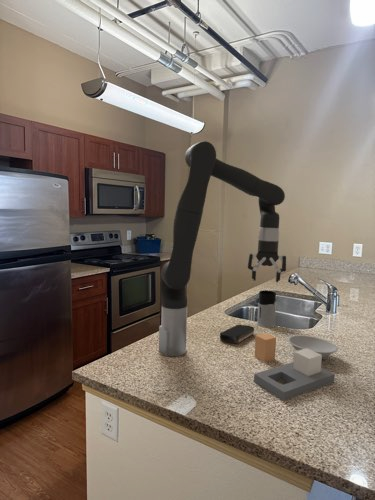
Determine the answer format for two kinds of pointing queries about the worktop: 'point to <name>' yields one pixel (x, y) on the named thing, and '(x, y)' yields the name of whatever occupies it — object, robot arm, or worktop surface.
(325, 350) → the dish
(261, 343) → the plug
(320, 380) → the square-hole base plate
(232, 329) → the black sponge
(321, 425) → the worktop surface
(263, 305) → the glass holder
